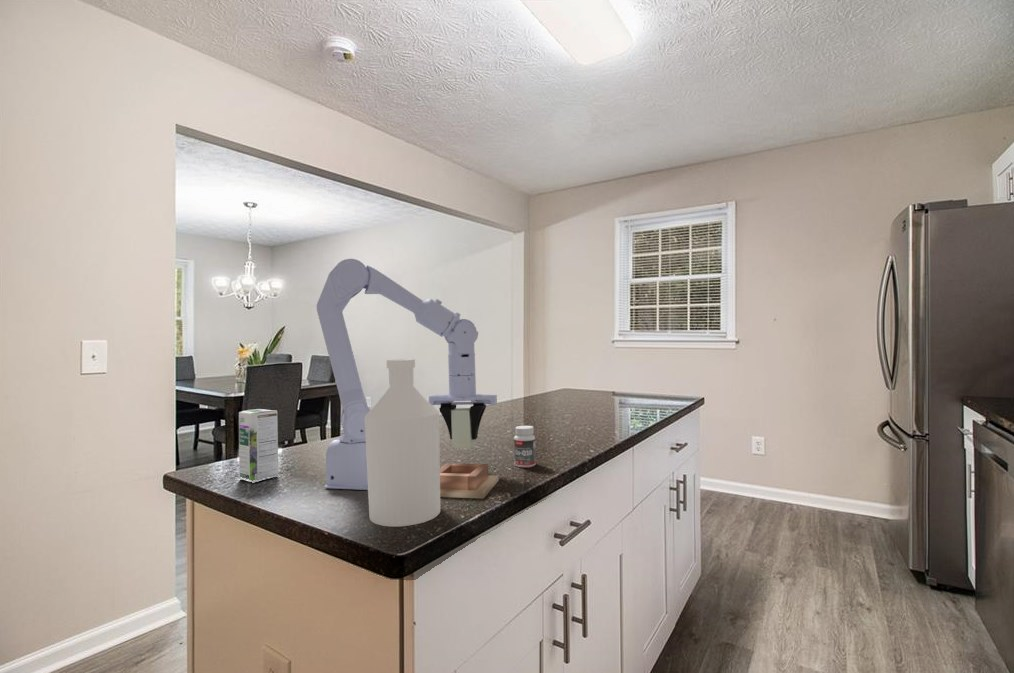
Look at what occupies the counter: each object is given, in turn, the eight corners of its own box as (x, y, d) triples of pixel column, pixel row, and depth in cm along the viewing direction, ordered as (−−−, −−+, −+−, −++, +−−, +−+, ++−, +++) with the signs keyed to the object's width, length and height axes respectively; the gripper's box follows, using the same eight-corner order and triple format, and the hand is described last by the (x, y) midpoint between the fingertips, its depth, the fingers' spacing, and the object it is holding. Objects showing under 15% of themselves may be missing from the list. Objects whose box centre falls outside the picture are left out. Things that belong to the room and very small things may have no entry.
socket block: (419, 495, 88) (419, 476, 88) (441, 478, 99) (440, 461, 99) (483, 498, 86) (482, 478, 86) (498, 480, 96) (498, 462, 96)
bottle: (410, 497, 88) (406, 358, 88) (457, 509, 80) (452, 358, 81) (352, 516, 79) (348, 361, 79) (398, 533, 71) (393, 361, 71)
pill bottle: (513, 467, 106) (511, 429, 106) (516, 462, 111) (515, 425, 111) (534, 467, 105) (533, 429, 105) (537, 462, 110) (535, 425, 110)
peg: (452, 448, 103) (451, 410, 103) (458, 444, 107) (457, 407, 107) (470, 448, 102) (469, 410, 102) (475, 444, 106) (474, 407, 106)
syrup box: (238, 480, 103) (236, 411, 103) (265, 473, 107) (264, 407, 108) (252, 484, 99) (250, 413, 99) (280, 477, 104) (278, 409, 104)
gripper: (423, 377, 102) (425, 442, 102) (491, 375, 100) (493, 442, 100) (433, 374, 109) (435, 435, 109) (497, 373, 107) (499, 435, 107)
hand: (463, 438), depth 105 cm, fingers closed on peg, 4 cm apart
